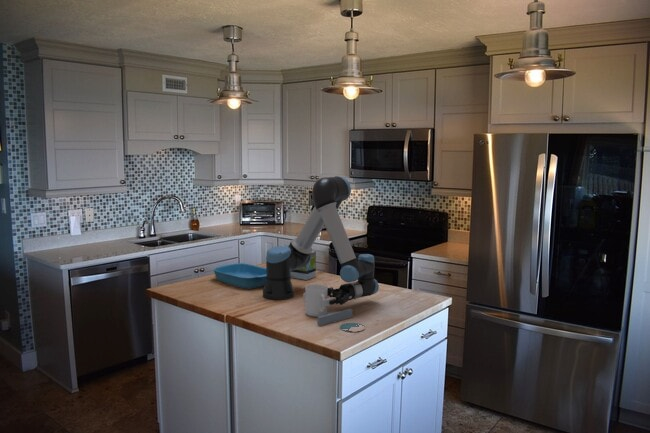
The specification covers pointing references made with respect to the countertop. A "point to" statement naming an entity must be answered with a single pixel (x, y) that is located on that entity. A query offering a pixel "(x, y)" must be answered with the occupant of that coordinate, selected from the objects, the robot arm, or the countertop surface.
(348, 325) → the pad
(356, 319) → the countertop surface
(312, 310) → the mug
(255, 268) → the casserole dish
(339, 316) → the wall
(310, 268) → the tea box
